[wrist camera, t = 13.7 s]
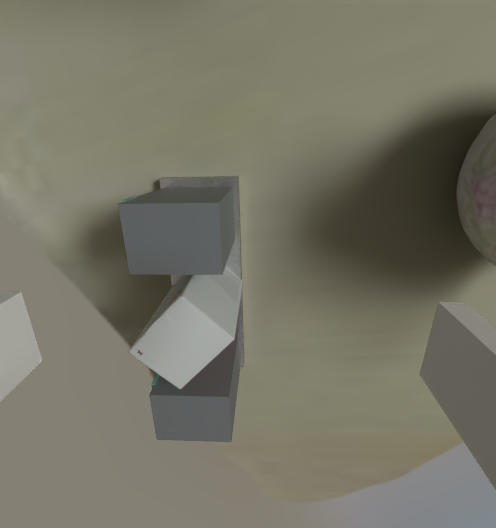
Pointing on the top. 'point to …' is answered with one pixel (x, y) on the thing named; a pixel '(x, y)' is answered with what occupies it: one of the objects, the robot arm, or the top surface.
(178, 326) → the small box
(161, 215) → the block
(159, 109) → the top surface
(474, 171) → the ceramic pitcher
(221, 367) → the block
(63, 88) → the top surface
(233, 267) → the rail plate
